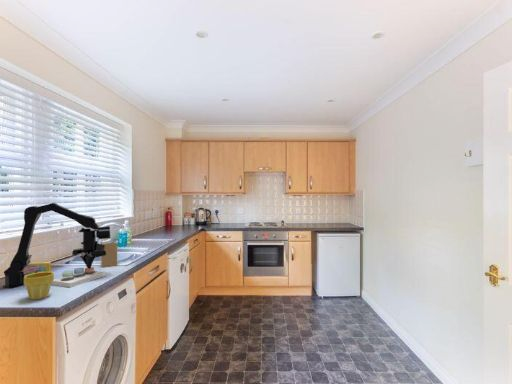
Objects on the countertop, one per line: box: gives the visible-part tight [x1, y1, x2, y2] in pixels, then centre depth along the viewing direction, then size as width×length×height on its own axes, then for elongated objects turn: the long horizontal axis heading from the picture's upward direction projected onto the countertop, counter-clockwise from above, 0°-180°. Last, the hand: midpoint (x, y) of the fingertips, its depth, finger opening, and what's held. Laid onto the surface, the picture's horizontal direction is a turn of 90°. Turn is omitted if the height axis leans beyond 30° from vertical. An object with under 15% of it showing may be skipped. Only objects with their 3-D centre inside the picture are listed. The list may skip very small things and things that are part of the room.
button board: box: [51, 270, 106, 288], centre depth 144 cm, size 20×14×2 cm
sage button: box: [61, 270, 74, 277], centre depth 138 cm, size 4×4×2 cm
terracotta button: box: [84, 266, 95, 273], centre depth 149 cm, size 4×4×2 cm
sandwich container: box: [100, 242, 118, 268], centre depth 176 cm, size 9×15×15 cm, turn 32°
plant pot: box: [23, 271, 55, 301], centre depth 120 cm, size 10×10×10 cm
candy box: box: [22, 261, 52, 276], centre depth 148 cm, size 16×2×8 cm, turn 95°
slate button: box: [73, 267, 85, 274], centre depth 144 cm, size 4×4×2 cm
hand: (89, 268), depth 149 cm, fingers closed, pressing on terracotta button
